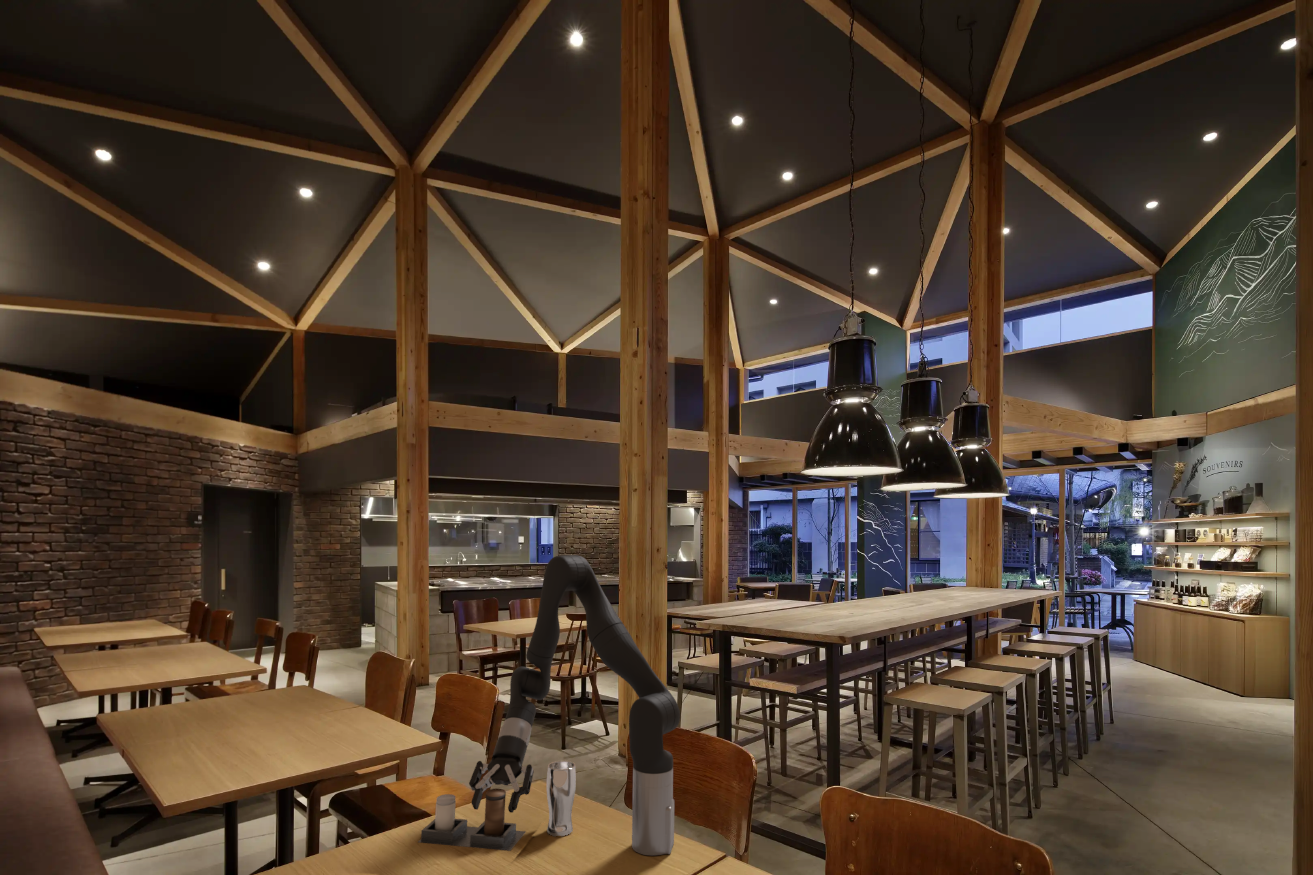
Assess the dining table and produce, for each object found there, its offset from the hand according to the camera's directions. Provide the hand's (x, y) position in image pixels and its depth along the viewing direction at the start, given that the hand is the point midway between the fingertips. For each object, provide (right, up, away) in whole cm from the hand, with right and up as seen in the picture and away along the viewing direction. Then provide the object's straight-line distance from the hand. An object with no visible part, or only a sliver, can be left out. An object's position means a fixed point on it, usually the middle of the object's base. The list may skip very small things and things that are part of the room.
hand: (492, 809), depth 160 cm
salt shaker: (-12, -7, +2) cm, 14 cm away
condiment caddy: (-5, -8, +1) cm, 9 cm away
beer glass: (+14, -9, +7) cm, 18 cm away
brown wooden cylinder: (0, -7, 0) cm, 7 cm away
